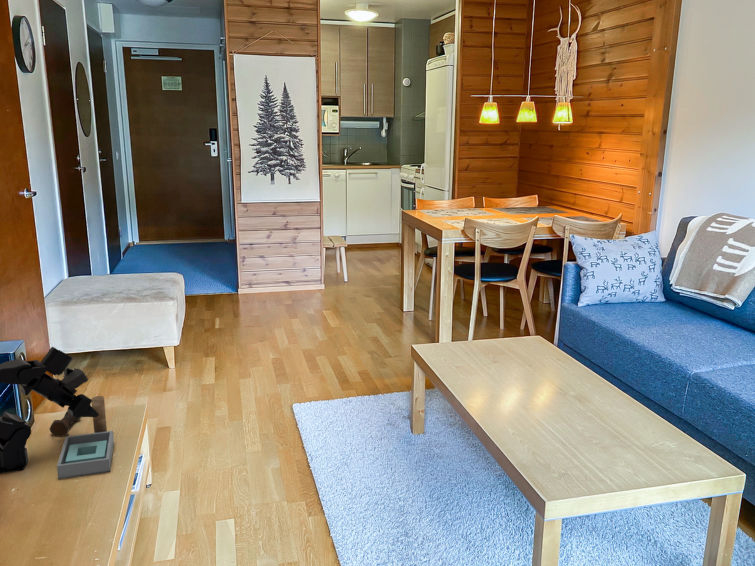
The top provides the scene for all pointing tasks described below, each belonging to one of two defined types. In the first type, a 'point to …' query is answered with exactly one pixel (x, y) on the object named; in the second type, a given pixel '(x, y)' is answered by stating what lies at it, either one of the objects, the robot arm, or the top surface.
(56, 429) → the bolt
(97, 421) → the peg
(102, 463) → the rim box
